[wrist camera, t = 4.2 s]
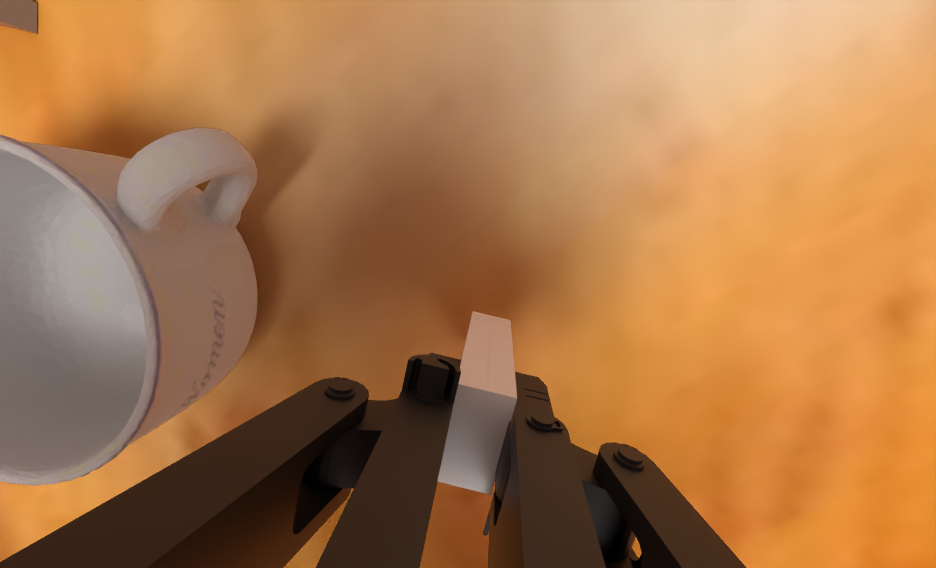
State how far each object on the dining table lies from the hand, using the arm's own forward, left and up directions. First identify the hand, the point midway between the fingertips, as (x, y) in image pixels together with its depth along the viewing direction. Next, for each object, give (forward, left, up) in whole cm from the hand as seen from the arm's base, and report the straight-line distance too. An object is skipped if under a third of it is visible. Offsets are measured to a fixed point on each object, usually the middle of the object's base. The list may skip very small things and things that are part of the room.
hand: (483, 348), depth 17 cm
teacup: (0, +13, -3) cm, 14 cm away
